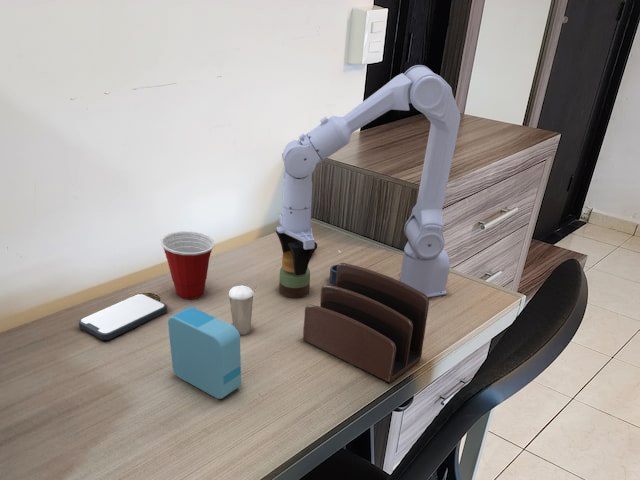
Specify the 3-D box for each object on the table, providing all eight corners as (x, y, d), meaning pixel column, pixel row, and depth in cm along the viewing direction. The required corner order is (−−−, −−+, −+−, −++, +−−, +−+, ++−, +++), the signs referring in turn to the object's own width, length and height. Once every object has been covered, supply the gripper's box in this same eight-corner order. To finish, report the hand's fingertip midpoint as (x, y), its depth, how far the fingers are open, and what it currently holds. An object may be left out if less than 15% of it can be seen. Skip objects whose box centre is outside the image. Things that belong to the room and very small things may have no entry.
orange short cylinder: (302, 260, 132) (302, 248, 131) (311, 270, 128) (312, 259, 126) (278, 263, 131) (278, 252, 129) (287, 274, 126) (287, 262, 125)
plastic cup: (214, 306, 126) (211, 251, 120) (161, 305, 126) (156, 250, 120) (219, 281, 135) (217, 230, 129) (170, 280, 135) (165, 229, 129)
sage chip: (302, 272, 135) (303, 262, 133) (314, 285, 130) (314, 275, 128) (275, 276, 133) (275, 266, 131) (285, 290, 128) (286, 279, 126)
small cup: (343, 276, 139) (344, 263, 137) (351, 284, 135) (353, 271, 134) (326, 278, 137) (327, 265, 136) (334, 287, 134) (335, 274, 132)
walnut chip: (302, 282, 136) (302, 272, 135) (313, 295, 131) (314, 285, 130) (275, 286, 134) (275, 276, 133) (285, 300, 129) (285, 290, 128)
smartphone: (141, 298, 129) (76, 327, 119) (140, 291, 128) (75, 320, 118) (170, 312, 125) (105, 343, 114) (169, 305, 124) (104, 336, 113)
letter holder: (335, 321, 122) (340, 255, 114) (421, 361, 111) (433, 291, 103) (302, 340, 116) (304, 272, 108) (389, 384, 105) (400, 312, 97)
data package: (241, 389, 103) (240, 328, 96) (223, 402, 100) (220, 340, 93) (191, 363, 109) (186, 303, 103) (172, 374, 106) (166, 314, 100)
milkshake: (257, 337, 117) (257, 289, 111) (229, 336, 117) (227, 289, 111) (258, 324, 121) (258, 278, 115) (231, 324, 121) (229, 277, 115)
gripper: (265, 195, 126) (265, 256, 134) (291, 220, 115) (289, 285, 123) (298, 191, 128) (295, 252, 136) (326, 216, 117) (322, 280, 125)
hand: (294, 267), depth 129 cm, fingers closed on orange short cylinder, 5 cm apart
